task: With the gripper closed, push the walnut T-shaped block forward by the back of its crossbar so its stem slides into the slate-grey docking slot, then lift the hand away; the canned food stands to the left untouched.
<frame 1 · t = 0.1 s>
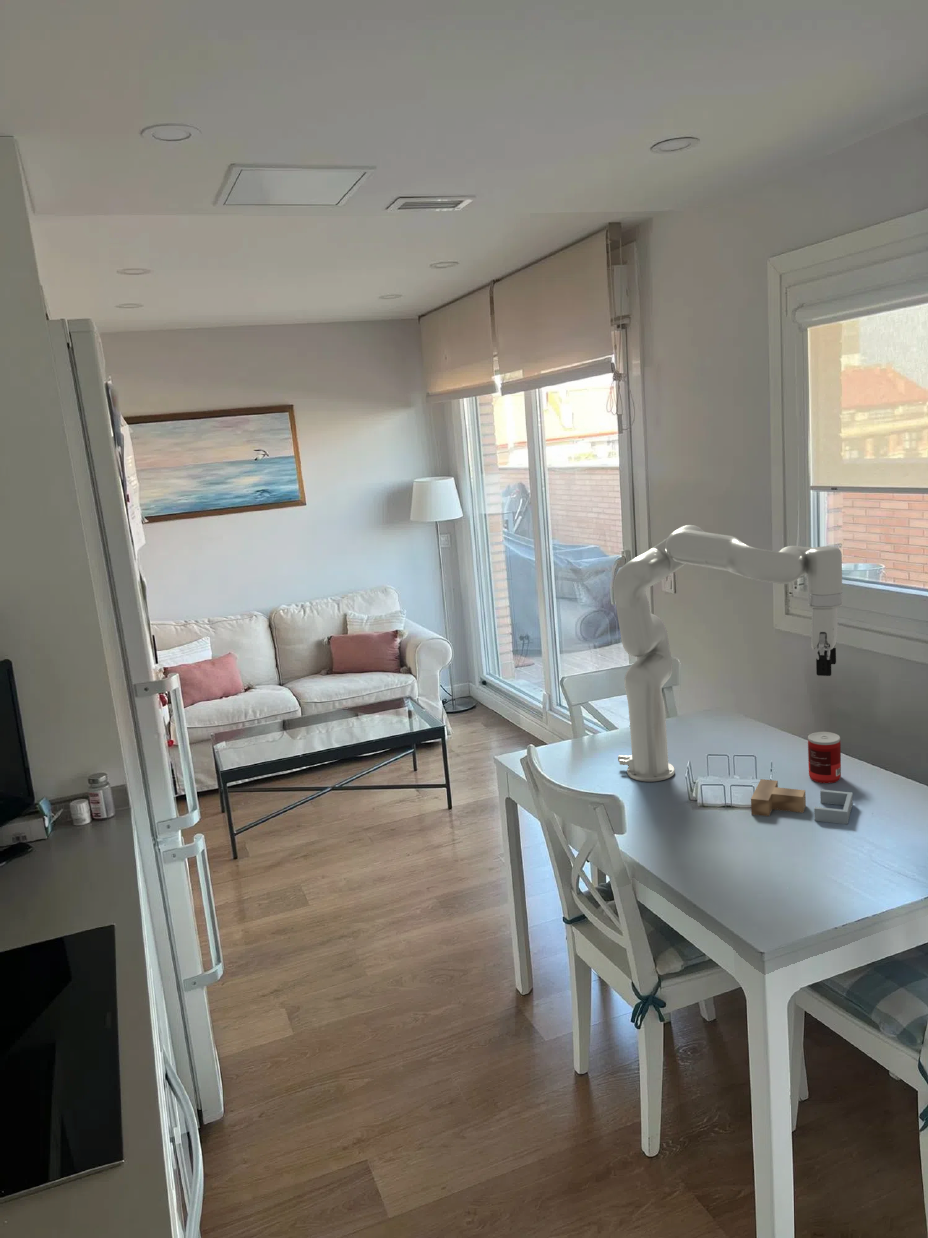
hand: (826, 669, 214), 31 cm above the table, tool pointing down, fingers open, 9 cm apart
dock: (833, 812, 209), on the table
t block: (782, 807, 215), on the table
canned food: (824, 778, 228), on the table
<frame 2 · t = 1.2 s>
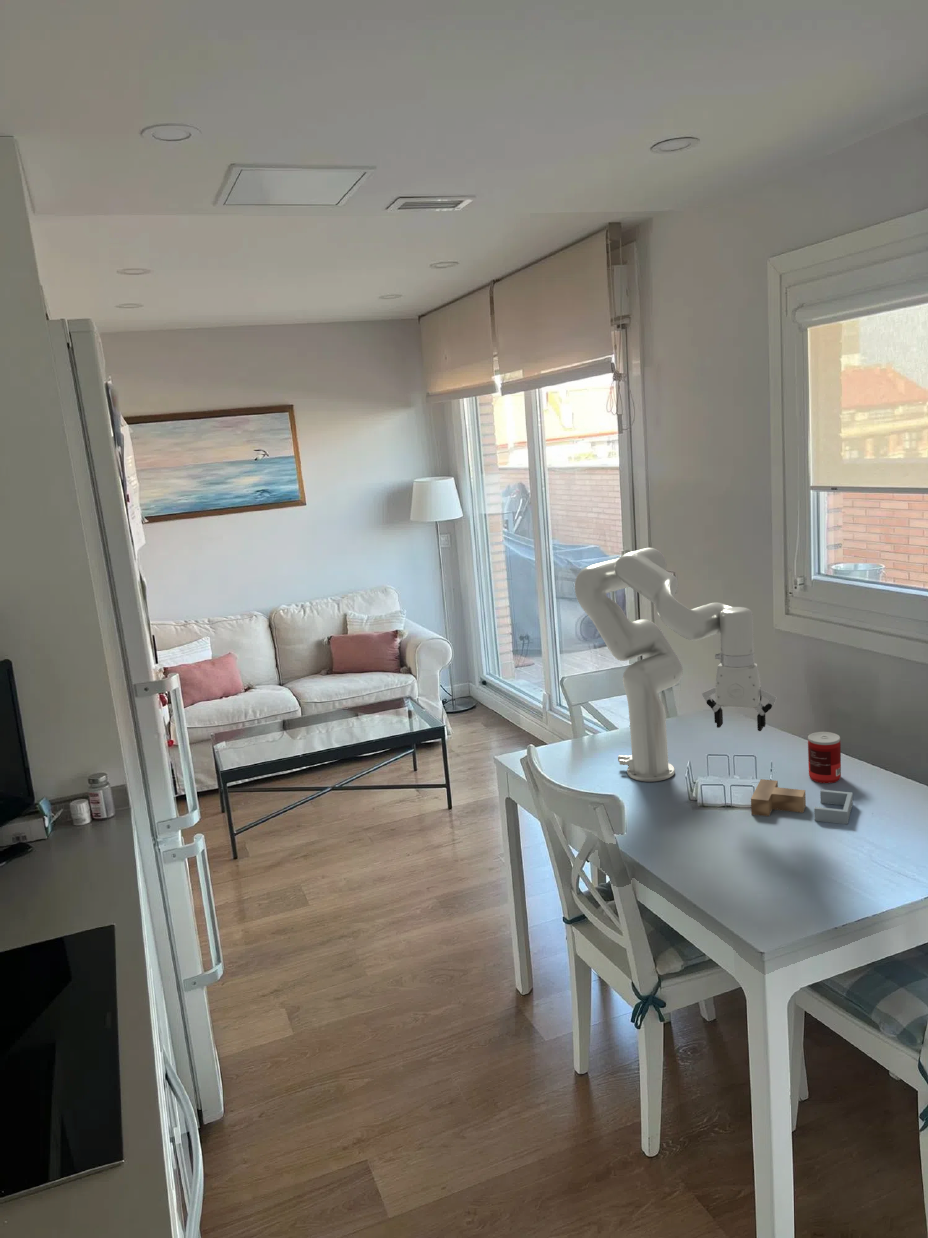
hand: (740, 727, 216), 19 cm above the table, tool pointing down, fingers open, 9 cm apart
nothing on the table moved.
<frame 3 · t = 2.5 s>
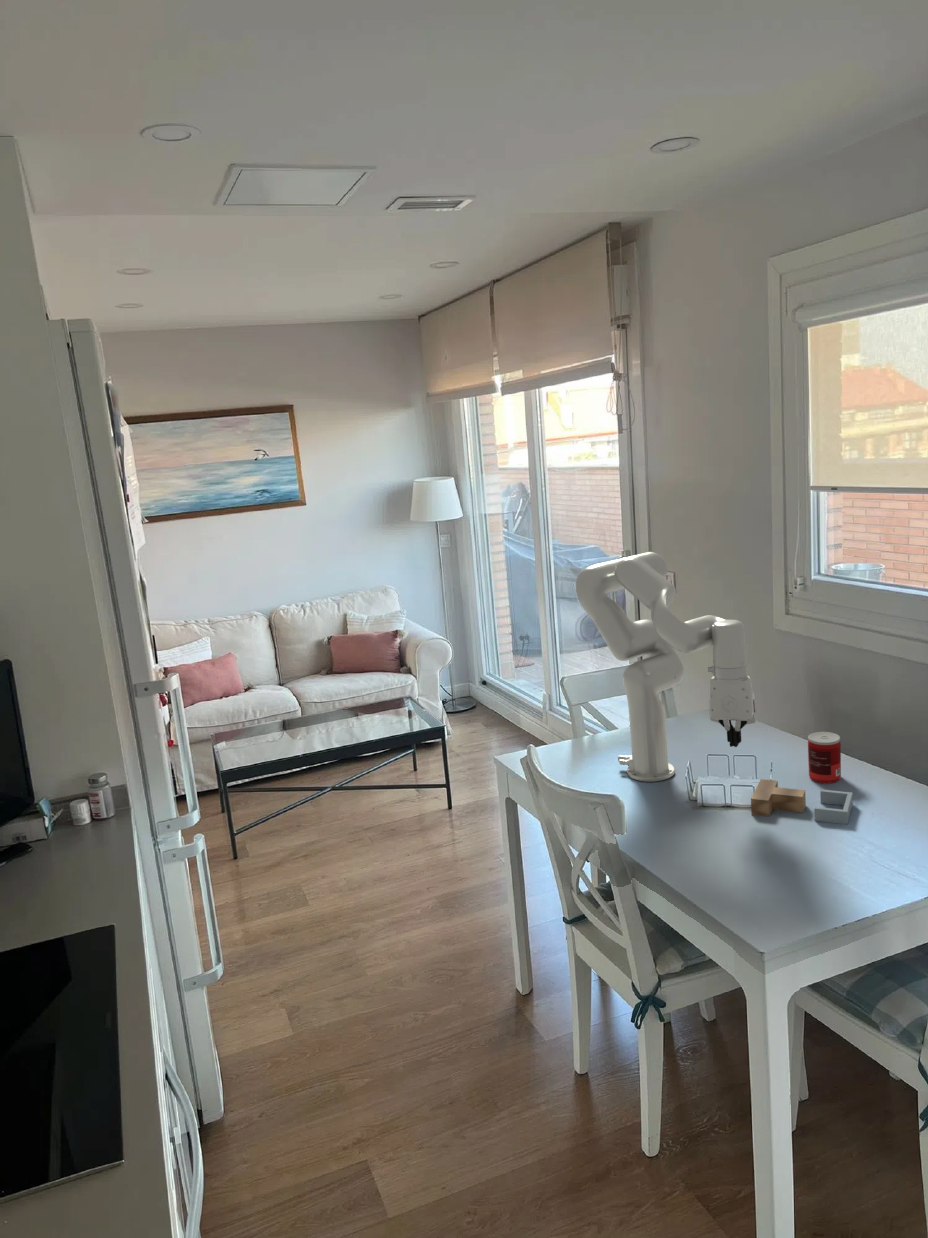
hand: (734, 744, 216), 15 cm above the table, tool pointing down, fingers closed
nothing on the table moved.
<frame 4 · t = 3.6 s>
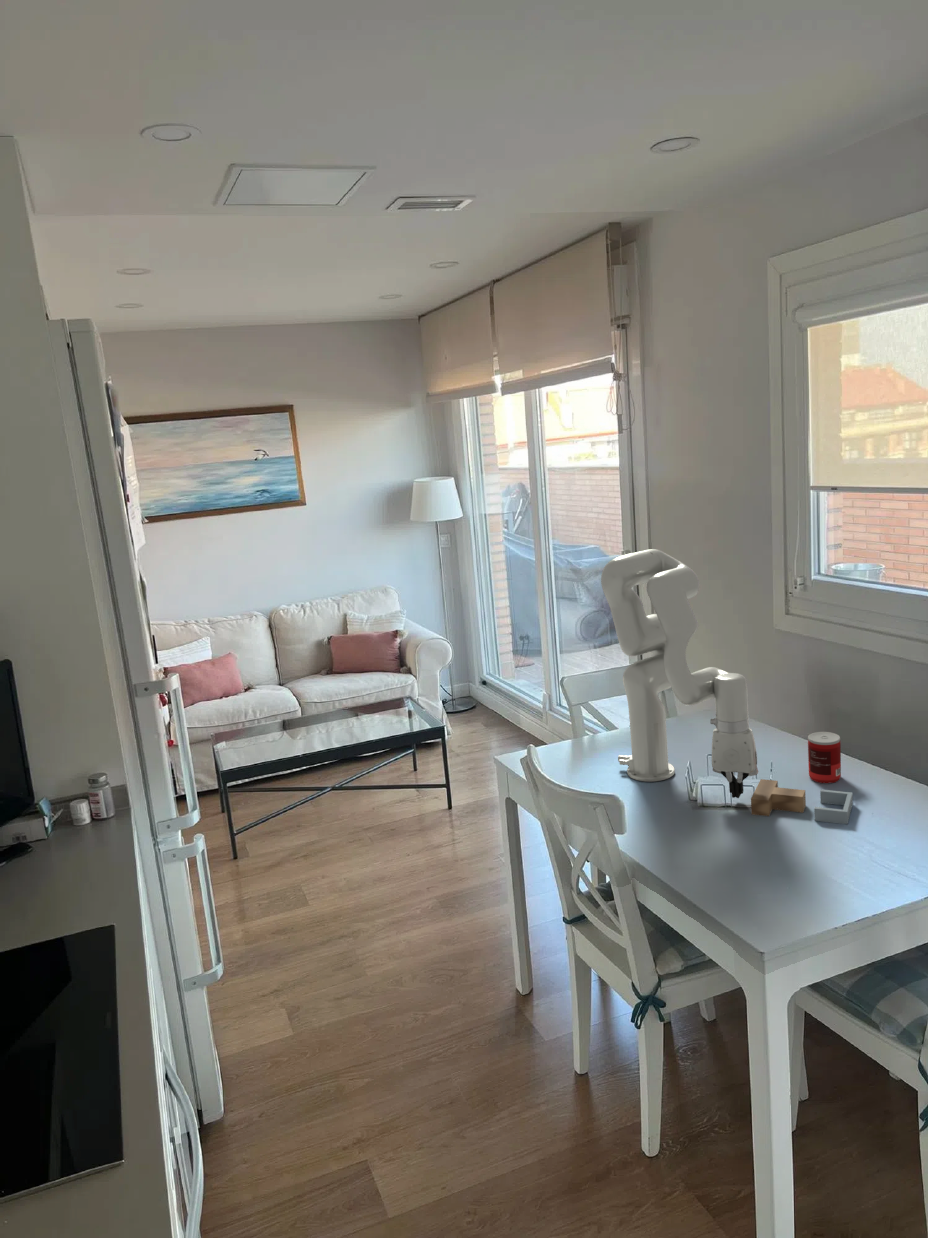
hand: (736, 795, 219), 2 cm above the table, tool pointing down, fingers closed
nothing on the table moved.
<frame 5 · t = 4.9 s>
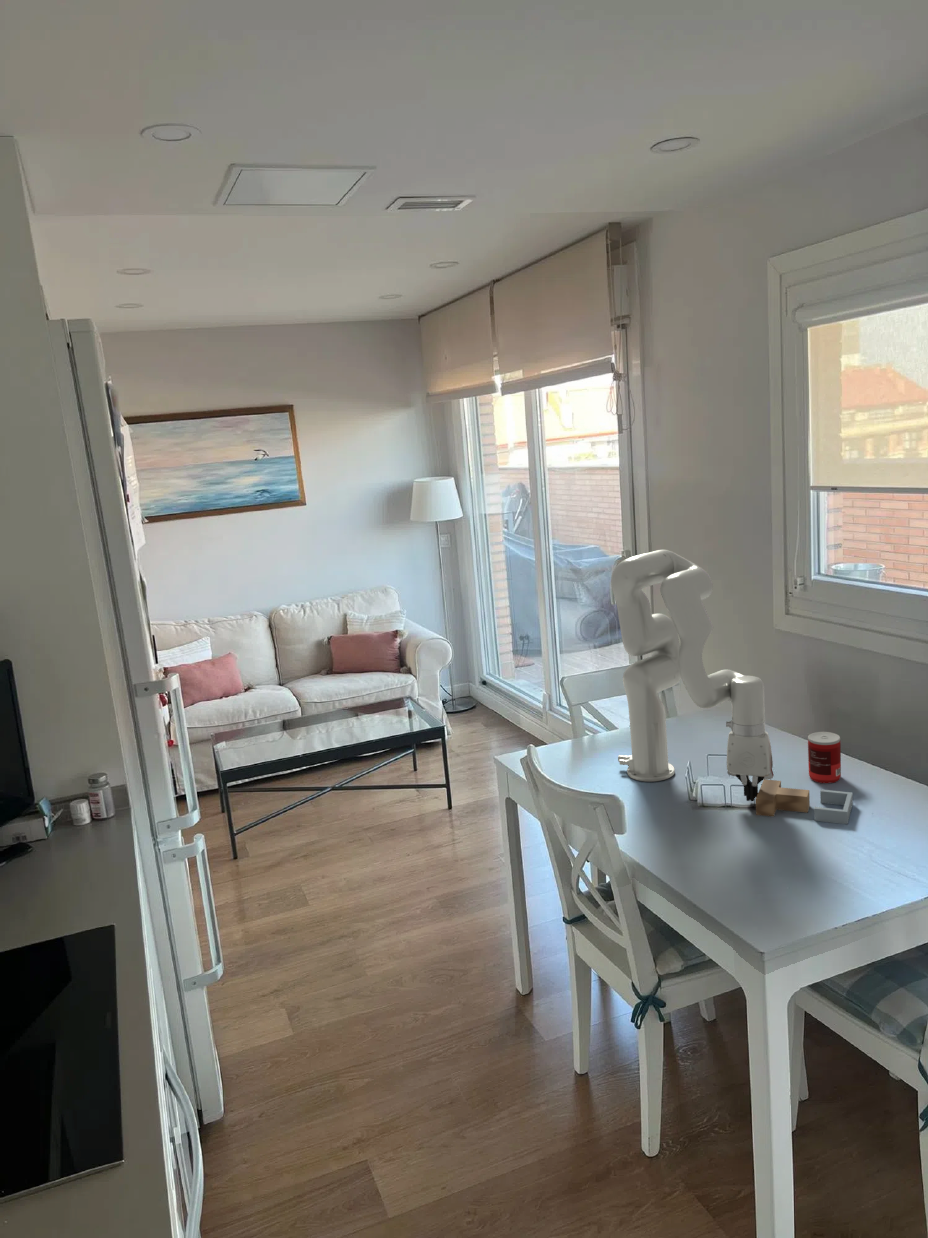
hand: (751, 798, 218), 1 cm above the table, tool pointing down, fingers closed
t block: (786, 807, 214), on the table, touching gripper
everything else where it was.
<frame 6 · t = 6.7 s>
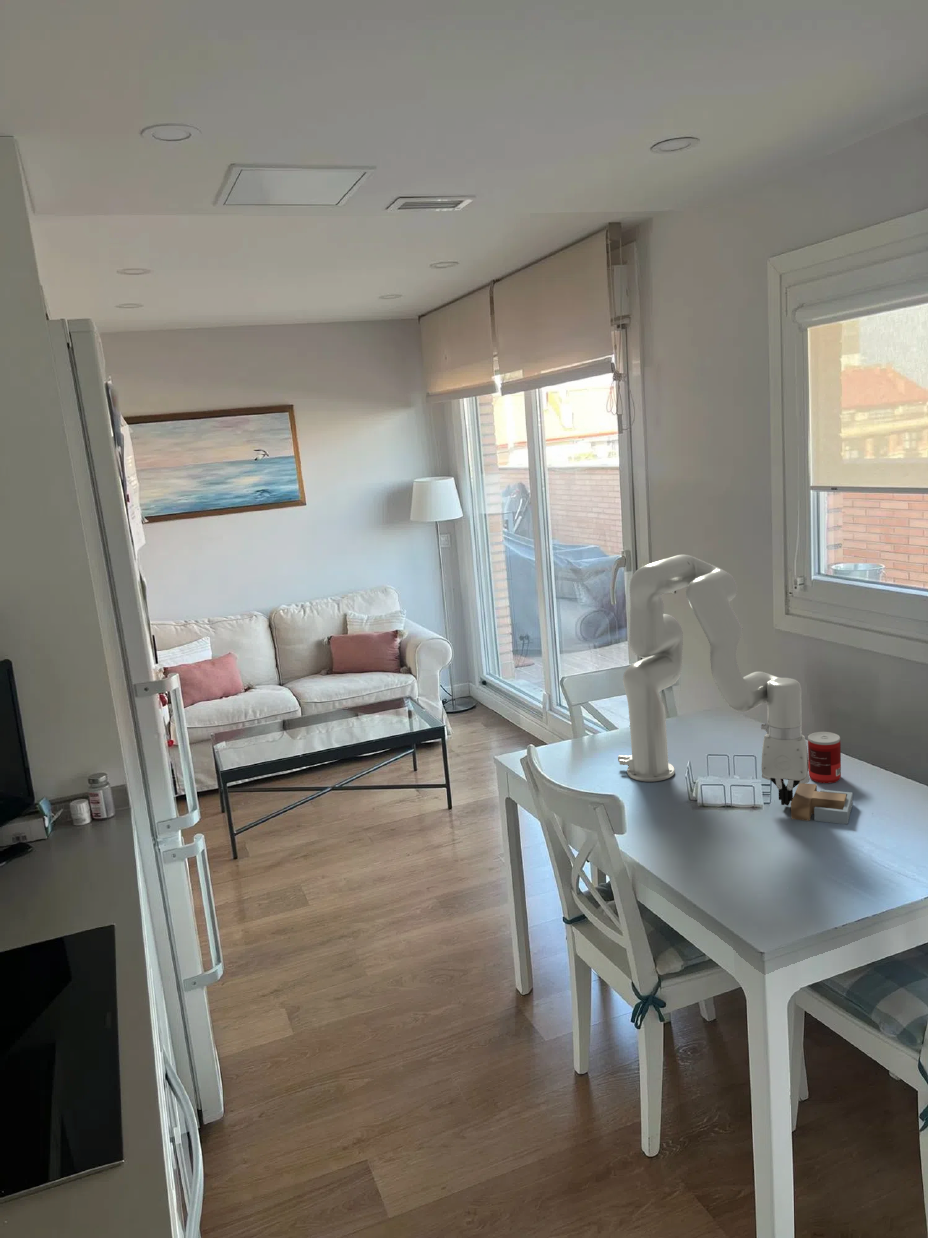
hand: (785, 803, 214), 1 cm above the table, tool pointing down, fingers closed
t block: (822, 811, 210), on the table, touching dock, gripper
everything else where it was.
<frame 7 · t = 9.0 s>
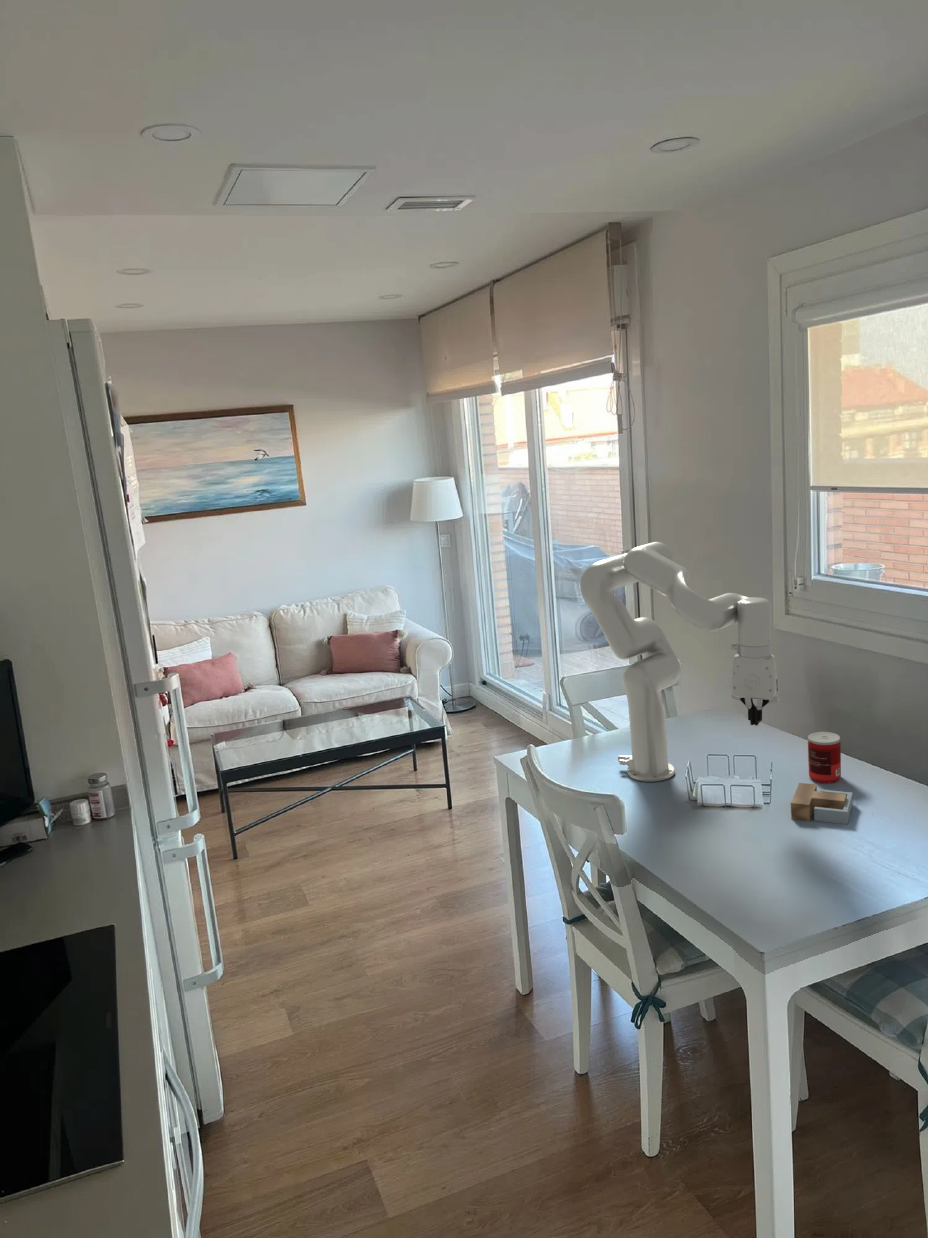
hand: (755, 723, 215), 20 cm above the table, tool pointing down, fingers closed
t block: (822, 811, 210), on the table
everything else where it was.
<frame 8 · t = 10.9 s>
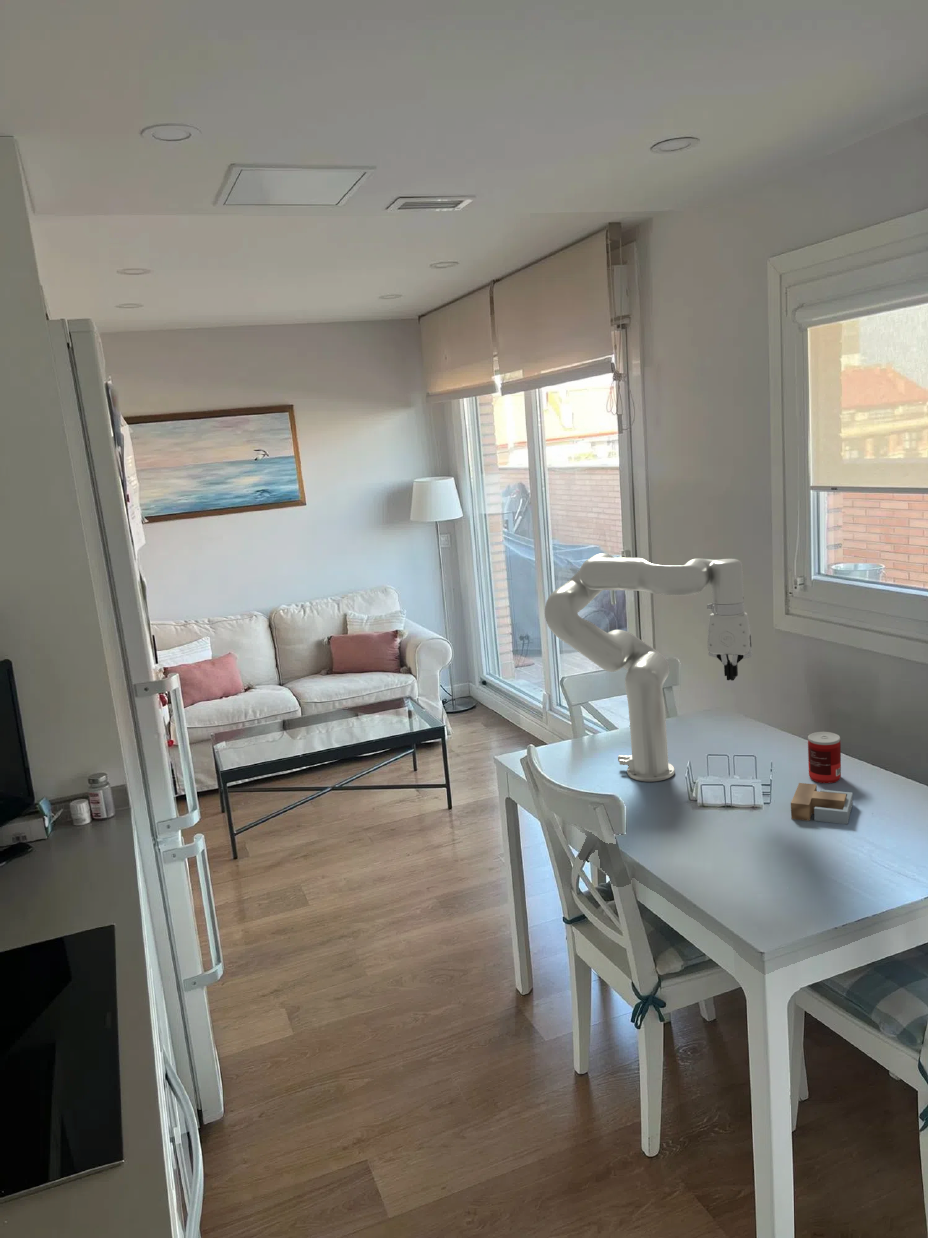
hand: (731, 678, 227), 27 cm above the table, tool pointing down, fingers closed
nothing on the table moved.
at the end: t block 0.5 cm from the target spot, on the table; t block moved 9.0 cm from its start; the gripper is holding nothing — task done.
